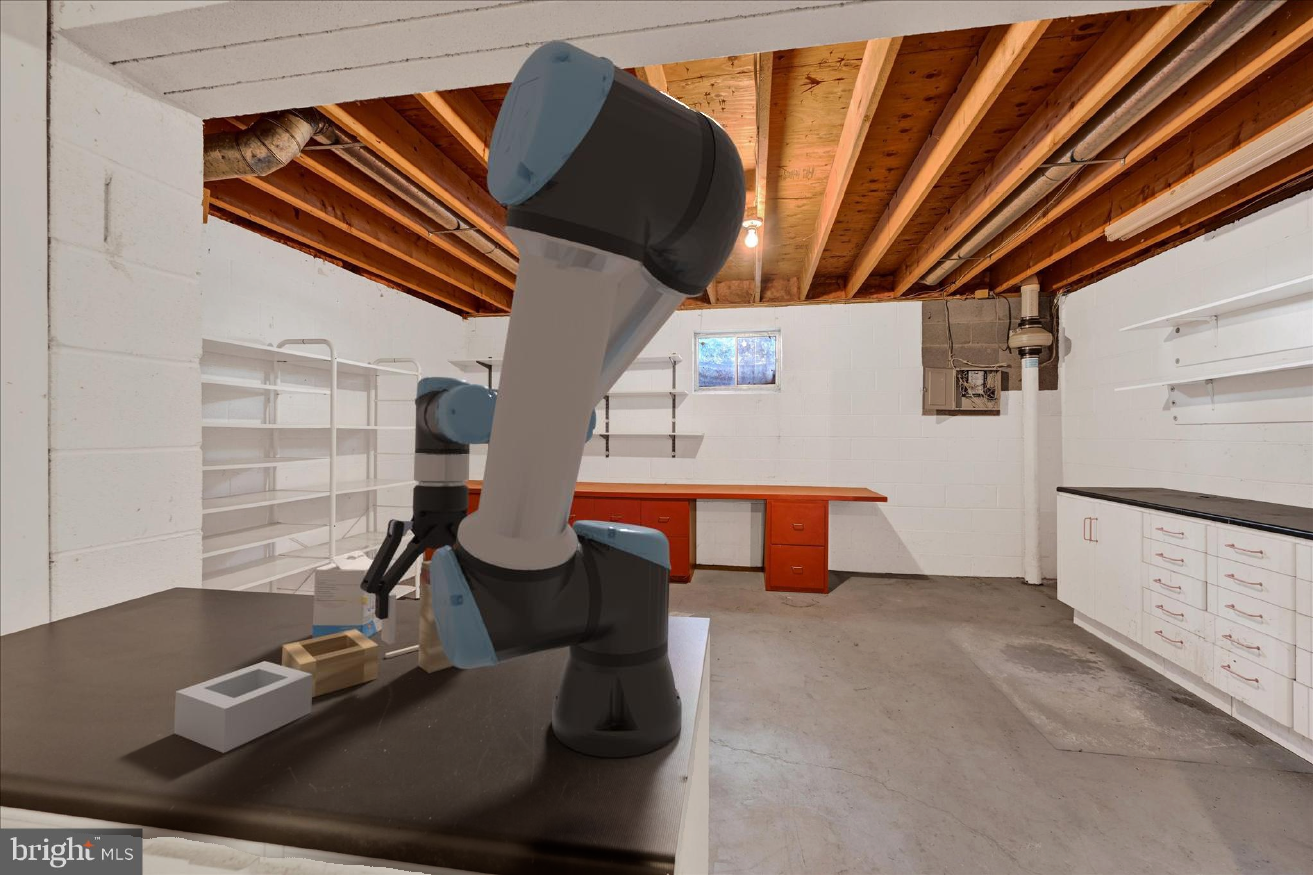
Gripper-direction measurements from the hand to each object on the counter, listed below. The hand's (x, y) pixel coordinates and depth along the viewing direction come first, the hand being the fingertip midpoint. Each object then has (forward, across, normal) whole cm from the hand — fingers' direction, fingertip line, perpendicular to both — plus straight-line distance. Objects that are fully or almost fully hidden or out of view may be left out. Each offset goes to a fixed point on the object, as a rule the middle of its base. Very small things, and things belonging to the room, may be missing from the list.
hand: (437, 629), depth 75 cm
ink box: (+6, +4, -23) cm, 24 cm away
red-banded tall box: (+5, 0, 0) cm, 5 cm away
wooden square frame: (+5, +12, -6) cm, 14 cm away
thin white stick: (+5, -1, -8) cm, 10 cm away
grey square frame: (+5, +22, 0) cm, 23 cm away
